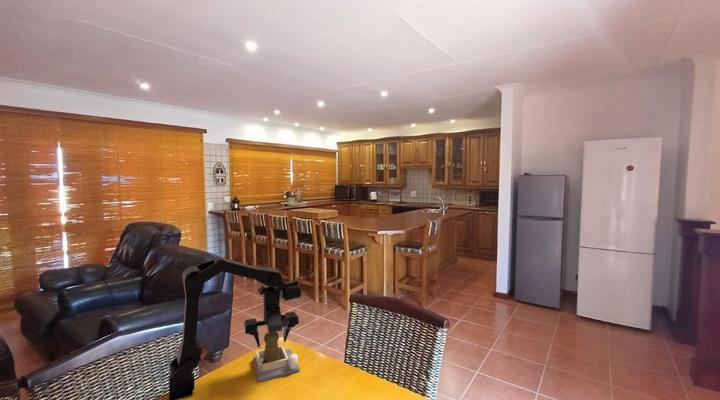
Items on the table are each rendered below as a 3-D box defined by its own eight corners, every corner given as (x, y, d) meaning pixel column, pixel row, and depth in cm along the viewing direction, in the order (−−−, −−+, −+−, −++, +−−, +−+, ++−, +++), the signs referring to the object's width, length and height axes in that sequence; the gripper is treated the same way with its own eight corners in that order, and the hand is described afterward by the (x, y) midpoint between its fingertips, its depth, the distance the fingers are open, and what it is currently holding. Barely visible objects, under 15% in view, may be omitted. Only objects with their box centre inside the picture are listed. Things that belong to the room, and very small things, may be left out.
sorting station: (258, 382, 108) (258, 368, 107) (252, 360, 120) (252, 347, 120) (299, 371, 114) (299, 358, 113) (290, 351, 126) (290, 339, 126)
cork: (277, 366, 115) (277, 337, 114) (260, 366, 115) (260, 336, 114) (281, 357, 121) (281, 329, 120) (265, 356, 121) (265, 328, 120)
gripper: (247, 317, 105) (247, 362, 106) (303, 307, 113) (302, 350, 114) (243, 304, 115) (243, 346, 116) (294, 296, 123) (294, 335, 124)
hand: (271, 344), depth 117 cm, fingers open, 9 cm apart
